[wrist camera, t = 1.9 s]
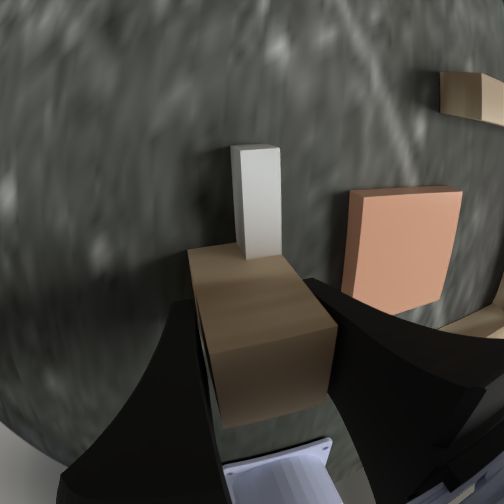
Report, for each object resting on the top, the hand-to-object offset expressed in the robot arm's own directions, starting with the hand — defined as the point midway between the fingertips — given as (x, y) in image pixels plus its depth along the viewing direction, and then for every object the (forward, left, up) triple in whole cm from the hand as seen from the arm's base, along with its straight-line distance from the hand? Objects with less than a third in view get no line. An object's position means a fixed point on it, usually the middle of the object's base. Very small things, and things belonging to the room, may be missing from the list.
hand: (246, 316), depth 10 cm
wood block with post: (0, -1, -2) cm, 3 cm away
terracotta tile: (0, -8, -3) cm, 8 cm away
